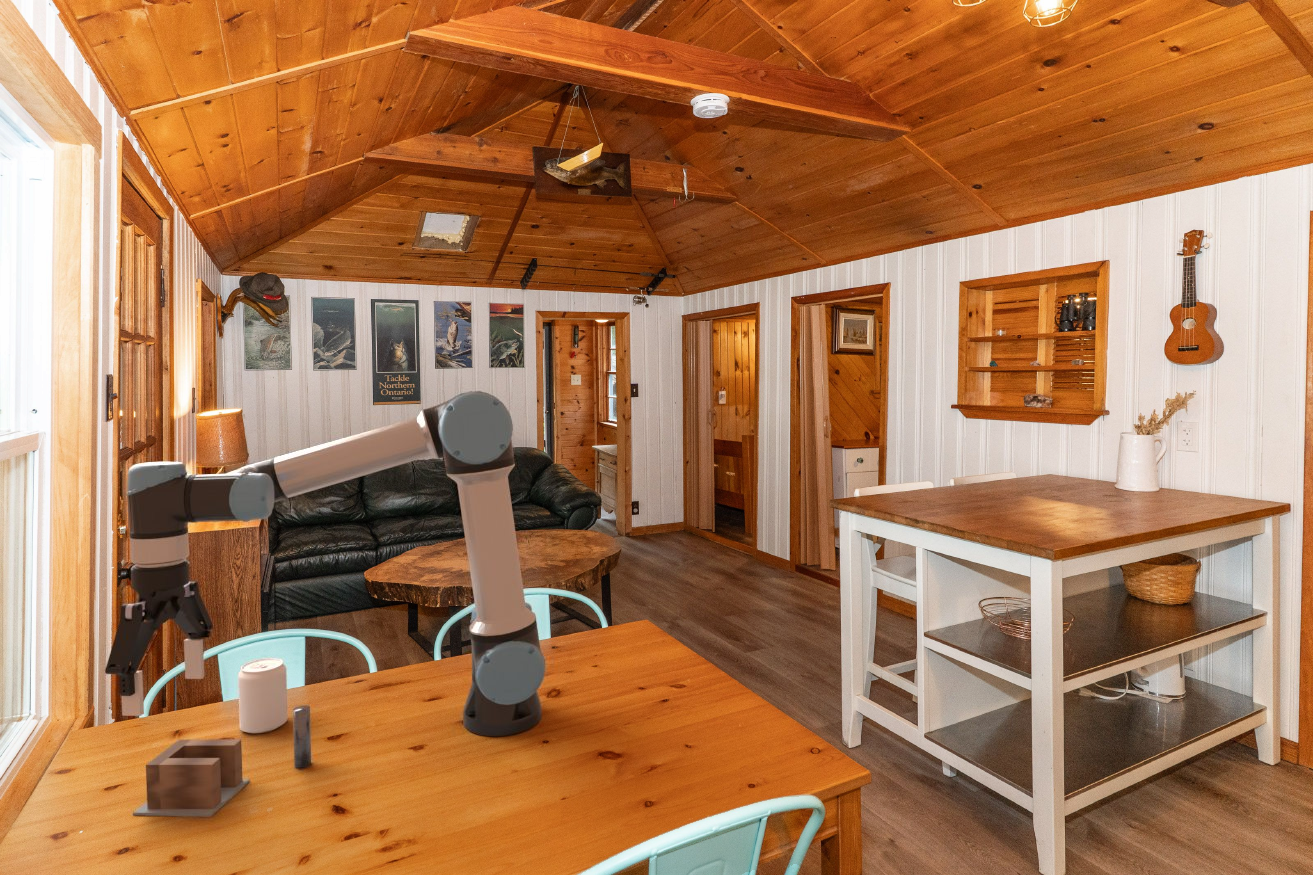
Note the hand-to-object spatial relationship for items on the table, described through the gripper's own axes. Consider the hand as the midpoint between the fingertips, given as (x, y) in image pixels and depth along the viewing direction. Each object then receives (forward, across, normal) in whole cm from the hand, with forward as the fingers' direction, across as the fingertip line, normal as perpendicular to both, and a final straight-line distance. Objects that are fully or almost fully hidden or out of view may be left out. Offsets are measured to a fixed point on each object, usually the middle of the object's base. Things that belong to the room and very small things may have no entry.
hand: (165, 695), depth 113 cm
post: (+16, -10, +16) cm, 25 cm away
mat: (+16, 0, +4) cm, 17 cm away
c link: (+16, 0, +4) cm, 17 cm away
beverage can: (+17, -24, +1) cm, 30 cm away
